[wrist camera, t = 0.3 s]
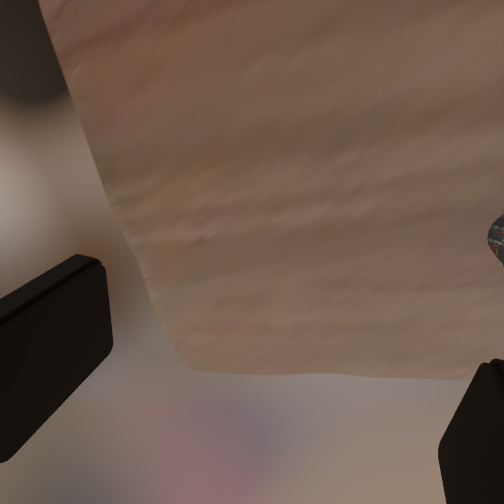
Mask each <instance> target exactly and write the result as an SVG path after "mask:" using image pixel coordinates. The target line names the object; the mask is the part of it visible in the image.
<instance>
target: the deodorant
mask: <svg viewBox="0 0 504 504" xmlns="http://www.w3.org/2000/svg"><path fill="white" fill-rule="evenodd" d="M488 244H489V246H490V248H491V250H492V251H493V253H494V254H495V255H496V257H497V258H498V260H499V261H500V262H501V264H502V265H503V267H504V215H502V216H501V217H500V218H498V219H497V220H496V221H495V222H494V223H493V224H492V226H491V228H490V230H489V233H488Z"/></svg>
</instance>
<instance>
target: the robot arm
mask: <svg viewBox="0 0 504 504" xmlns="http://www.w3.org/2000/svg"><path fill="white" fill-rule="evenodd" d="M112 347H113V335H112V325H111V315H110V307H109V296H108V287H107V277H106V270H105V267H104V266H102V264H101V262H100V261H99V260H98V259H96V258H93V257H89V256H84V255H80V254H76V255H74V256H72V257H70V258H69V259H67V260H65V261H63V262H62V263H60V264H58V265H57V266H55V267H53V268H52V269H50V270H48V271H47V272H45V273H43V274H42V275H40V276H38V277H37V278H35V279H33V280H31V281H30V282H28V283H27V284H25V285H23V286H21V287H20V288H18V289H17V290H15V291H13V292H11V293H10V294H8V295H6V296H5V297H3V298H1V299H0V463H3V462H5V461H7V460H9V459H10V458H11V457H12V456H13V455H14V454H15V453H16V452H17V451H18V450H19V449H20V448H21V447H22V446H23V445H24V444H25V443H26V442H27V441H28V439H29V438H30V437H31V436H32V435H33V434H34V433H35V432H36V431H37V430H38V429H39V428H40V427H41V426H42V425H43V423H45V421H46V420H47V419H48V418H49V417H50V416H51V415H52V414H53V413H54V412H55V411H56V410H57V409H58V408H59V407H60V406H61V405H62V403H63V402H64V401H65V400H66V399H67V398H68V397H69V396H70V395H71V394H72V393H73V392H74V391H75V390H76V389H77V388H78V387H79V385H80V384H81V383H82V382H83V381H84V380H85V379H86V378H87V377H88V376H89V375H90V374H91V373H92V372H93V371H94V370H95V369H96V368H97V367H98V366H99V364H100V363H101V362H102V361H103V360H104V359H105V358H106V357H107V356H108V355H109V353H110V352H111V350H112ZM438 458H439V465H440V470H441V476H442V481H443V487H444V492H445V497H446V503H447V504H504V360H500V359H493V360H492V361H491V362H490V363H482V364H481V365H480V366H479V368H478V370H477V372H476V374H475V376H474V378H473V379H472V381H471V383H470V385H469V387H468V389H467V391H466V393H465V395H464V397H463V399H462V401H461V403H460V405H459V406H458V408H457V410H456V412H455V414H454V416H453V418H452V420H451V422H450V424H449V425H448V427H447V429H446V431H445V433H444V435H443V437H442V439H441V441H440V444H439V448H438Z"/></svg>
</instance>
